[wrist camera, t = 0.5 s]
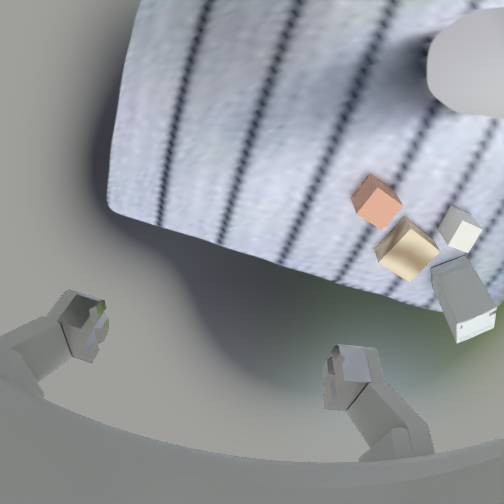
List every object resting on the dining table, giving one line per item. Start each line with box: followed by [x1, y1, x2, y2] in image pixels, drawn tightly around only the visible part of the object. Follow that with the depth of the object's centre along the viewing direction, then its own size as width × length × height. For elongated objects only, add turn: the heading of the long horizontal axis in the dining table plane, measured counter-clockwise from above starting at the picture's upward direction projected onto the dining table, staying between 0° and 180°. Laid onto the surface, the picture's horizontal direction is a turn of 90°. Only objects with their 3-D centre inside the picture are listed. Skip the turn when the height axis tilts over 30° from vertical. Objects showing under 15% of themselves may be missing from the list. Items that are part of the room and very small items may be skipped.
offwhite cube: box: [438, 205, 482, 253], centre depth 43 cm, size 5×5×5 cm
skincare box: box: [431, 256, 497, 343], centre depth 45 cm, size 8×6×15 cm
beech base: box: [375, 216, 440, 282], centre depth 48 cm, size 8×8×4 cm
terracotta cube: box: [351, 174, 403, 230], centre depth 43 cm, size 5×5×5 cm
